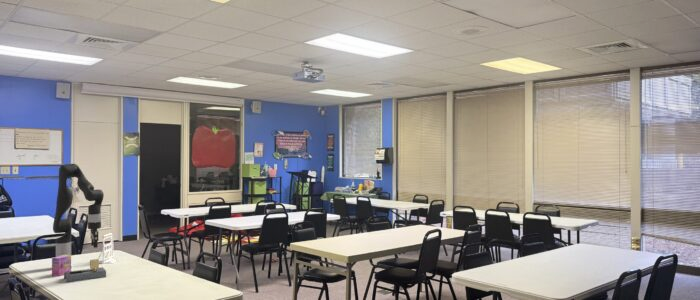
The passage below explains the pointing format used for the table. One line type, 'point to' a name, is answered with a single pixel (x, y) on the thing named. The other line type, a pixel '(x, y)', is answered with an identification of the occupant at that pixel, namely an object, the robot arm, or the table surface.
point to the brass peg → (94, 264)
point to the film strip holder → (108, 260)
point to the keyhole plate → (84, 274)
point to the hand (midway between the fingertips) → (94, 246)
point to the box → (61, 265)
